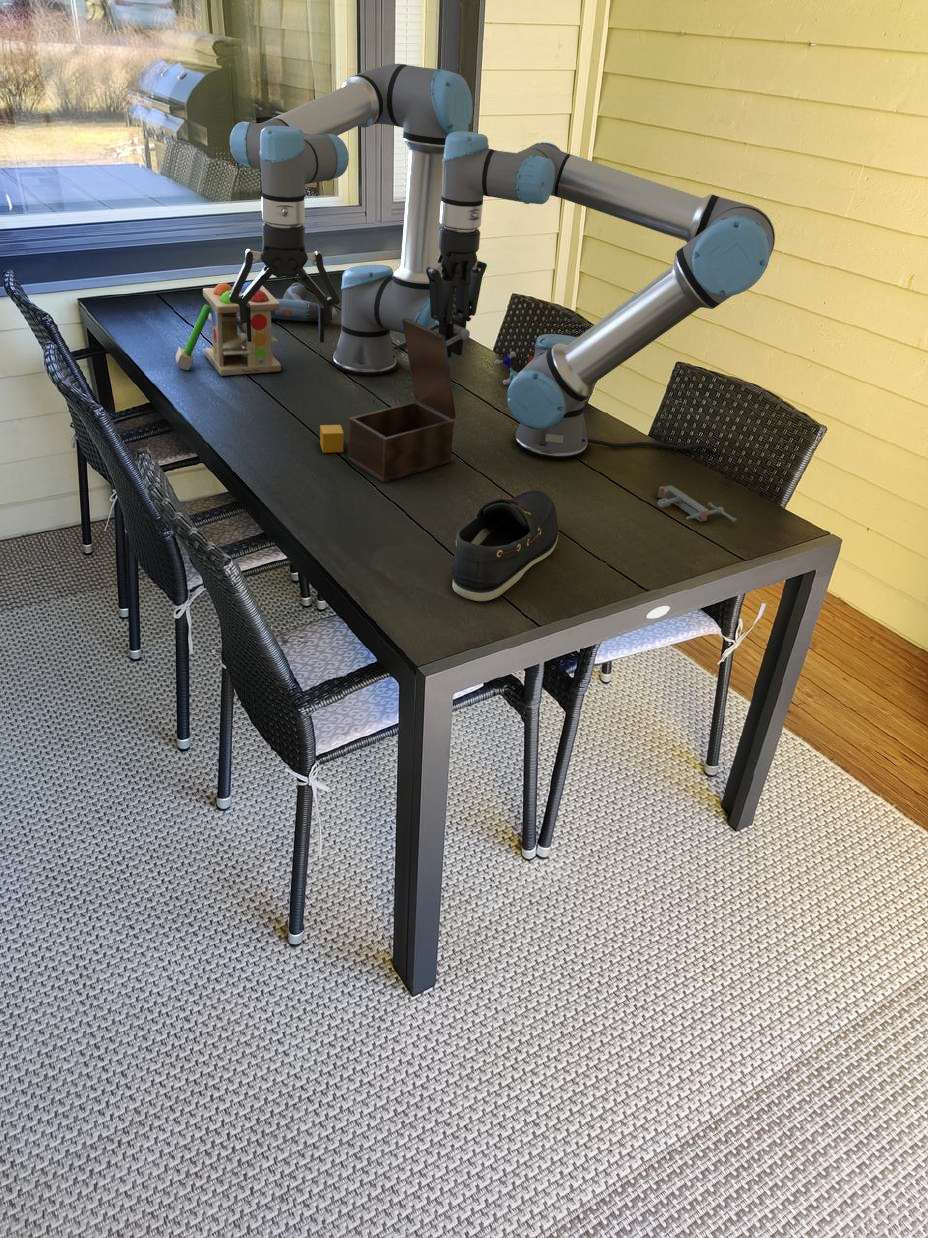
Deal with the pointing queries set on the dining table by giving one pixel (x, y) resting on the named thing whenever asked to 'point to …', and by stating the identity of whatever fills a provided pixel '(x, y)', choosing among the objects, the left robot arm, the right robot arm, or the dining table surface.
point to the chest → (400, 440)
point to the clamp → (669, 498)
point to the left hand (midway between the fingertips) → (285, 339)
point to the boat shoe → (503, 544)
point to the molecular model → (507, 361)
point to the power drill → (298, 306)
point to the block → (331, 438)
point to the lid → (431, 364)
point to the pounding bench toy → (235, 333)
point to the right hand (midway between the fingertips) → (450, 353)
